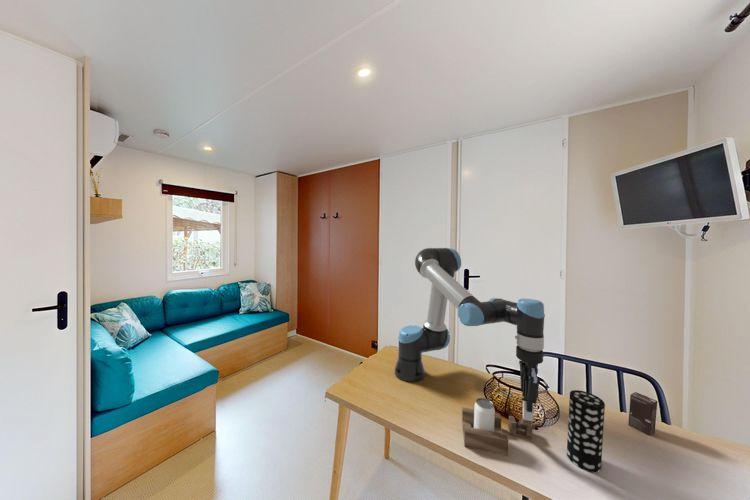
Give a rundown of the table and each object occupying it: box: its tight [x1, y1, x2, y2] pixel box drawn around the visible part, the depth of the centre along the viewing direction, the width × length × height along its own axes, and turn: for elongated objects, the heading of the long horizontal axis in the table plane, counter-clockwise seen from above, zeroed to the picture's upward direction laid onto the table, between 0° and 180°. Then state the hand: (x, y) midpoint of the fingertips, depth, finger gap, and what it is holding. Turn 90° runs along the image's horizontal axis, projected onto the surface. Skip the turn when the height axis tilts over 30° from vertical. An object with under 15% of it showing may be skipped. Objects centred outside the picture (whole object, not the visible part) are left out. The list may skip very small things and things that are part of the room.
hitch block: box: [461, 406, 533, 457], centre depth 87 cm, size 14×23×5 cm, turn 75°
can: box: [473, 397, 496, 432], centre depth 88 cm, size 6×6×12 cm
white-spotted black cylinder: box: [566, 389, 606, 473], centre depth 79 cm, size 8×8×20 cm
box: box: [627, 391, 658, 437], centre depth 93 cm, size 6×4×12 cm
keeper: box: [516, 418, 533, 430], centre depth 87 cm, size 11×3×2 cm
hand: (527, 419), depth 83 cm, fingers closed
